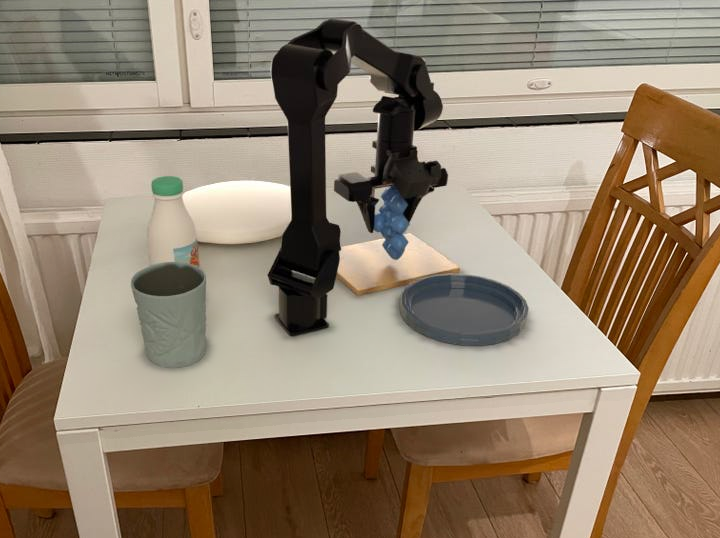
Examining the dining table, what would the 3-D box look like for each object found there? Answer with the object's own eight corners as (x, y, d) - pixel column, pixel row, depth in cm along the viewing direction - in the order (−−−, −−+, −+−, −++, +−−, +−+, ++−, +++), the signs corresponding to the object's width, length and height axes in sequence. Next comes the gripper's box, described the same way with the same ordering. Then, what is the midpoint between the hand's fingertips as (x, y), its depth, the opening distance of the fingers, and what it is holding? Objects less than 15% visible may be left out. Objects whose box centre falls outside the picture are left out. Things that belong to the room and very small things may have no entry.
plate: (147, 226, 134) (180, 176, 156) (155, 259, 138) (185, 205, 160) (303, 216, 130) (314, 166, 153) (306, 251, 134) (316, 197, 156)
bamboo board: (357, 296, 123) (357, 290, 122) (314, 257, 135) (314, 252, 134) (459, 272, 129) (460, 267, 129) (409, 237, 142) (410, 232, 141)
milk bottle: (161, 315, 117) (148, 192, 106) (148, 294, 123) (134, 175, 112) (208, 305, 120) (200, 185, 109) (193, 285, 126) (184, 168, 115)
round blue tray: (445, 358, 107) (447, 345, 106) (377, 299, 122) (378, 287, 120) (552, 329, 114) (555, 316, 112) (475, 276, 128) (477, 264, 127)
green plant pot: (213, 333, 113) (208, 261, 106) (209, 371, 104) (203, 295, 98) (145, 334, 113) (136, 262, 106) (135, 372, 104) (125, 296, 98)
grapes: (360, 241, 135) (363, 176, 129) (397, 239, 136) (402, 174, 129) (373, 269, 126) (377, 201, 119) (413, 267, 126) (419, 199, 120)
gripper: (369, 160, 110) (363, 257, 119) (473, 144, 117) (461, 237, 125) (334, 139, 119) (330, 231, 127) (433, 125, 125) (424, 214, 134)
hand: (387, 229), depth 128 cm, fingers closed on grapes, 6 cm apart
